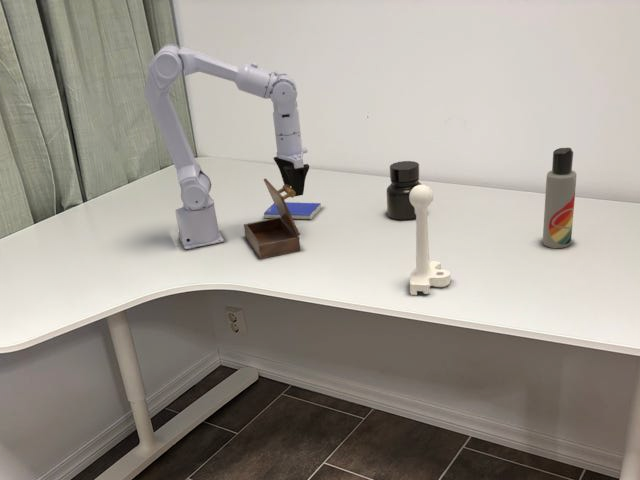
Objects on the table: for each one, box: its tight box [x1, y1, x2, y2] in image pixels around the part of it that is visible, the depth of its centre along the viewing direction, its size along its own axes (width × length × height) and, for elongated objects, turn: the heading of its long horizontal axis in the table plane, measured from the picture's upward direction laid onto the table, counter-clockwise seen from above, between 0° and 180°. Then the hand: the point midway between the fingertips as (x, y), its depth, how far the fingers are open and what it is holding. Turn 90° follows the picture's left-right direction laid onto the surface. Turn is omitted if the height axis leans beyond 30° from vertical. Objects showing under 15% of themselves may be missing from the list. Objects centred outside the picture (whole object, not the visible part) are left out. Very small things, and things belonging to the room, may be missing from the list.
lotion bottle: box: [542, 147, 577, 249], centre depth 159 cm, size 6×6×20 cm
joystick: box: [409, 184, 451, 296], centre depth 149 cm, size 11×8×20 cm
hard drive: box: [263, 201, 322, 220], centre depth 197 cm, size 2×8×12 cm
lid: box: [263, 178, 301, 237], centre depth 177 cm, size 10×15×4 cm
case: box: [243, 217, 301, 260], centre depth 180 cm, size 9×15×3 cm, turn 16°
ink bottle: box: [386, 160, 423, 221], centre depth 185 cm, size 10×9×12 cm
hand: (293, 190), depth 181 cm, fingers open, 7 cm apart
